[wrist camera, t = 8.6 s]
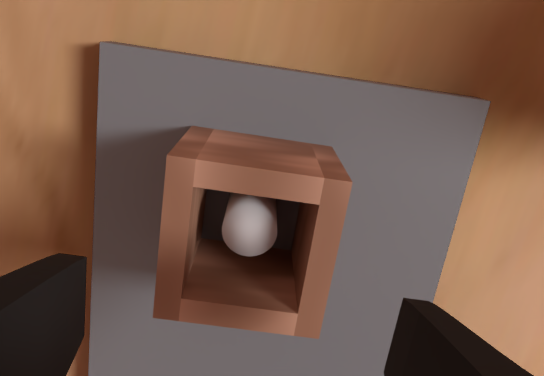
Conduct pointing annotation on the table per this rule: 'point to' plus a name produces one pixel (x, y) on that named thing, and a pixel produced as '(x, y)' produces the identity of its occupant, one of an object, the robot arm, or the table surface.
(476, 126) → the pin plate
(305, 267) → the hollow square block
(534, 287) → the table surface
